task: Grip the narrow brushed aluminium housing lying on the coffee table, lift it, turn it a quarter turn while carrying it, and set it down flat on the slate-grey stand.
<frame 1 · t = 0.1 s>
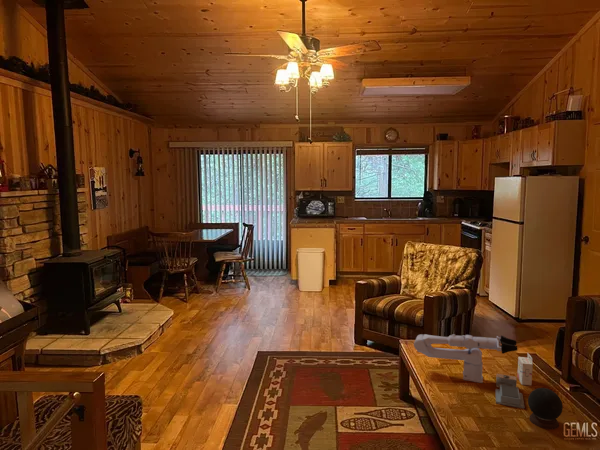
hand: (516, 345, 216), 22 cm above the table, tool horizontal, fingers open, 7 cm apart
stand: (509, 399, 205), on the table
ink cartridge box: (524, 381, 223), on the table
black ball on base: (543, 422, 187), on the table
housing: (505, 387, 218), on the table
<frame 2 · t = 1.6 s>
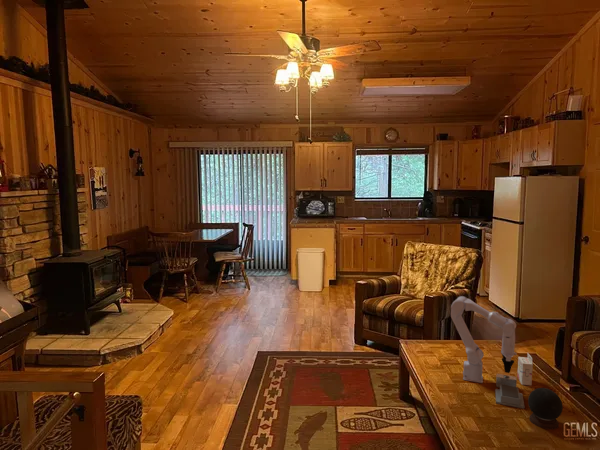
hand: (506, 369, 217), 9 cm above the table, tool pointing down, fingers open, 7 cm apart
nothing on the table moved.
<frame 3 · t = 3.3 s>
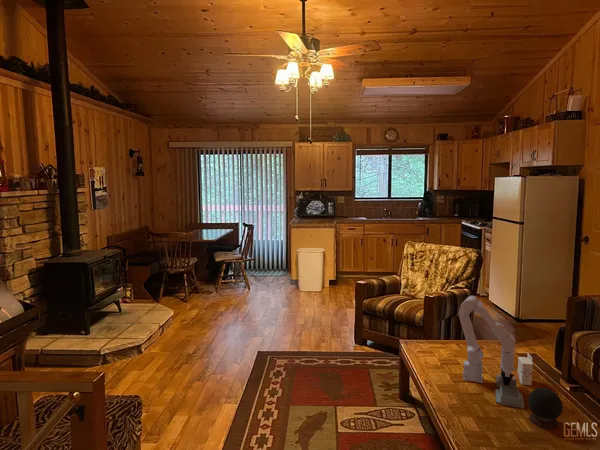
hand: (506, 384, 217), 1 cm above the table, tool pointing down, fingers closed on housing, 4 cm apart
housing: (505, 386, 218), on the table, touching gripper
everything else where it was.
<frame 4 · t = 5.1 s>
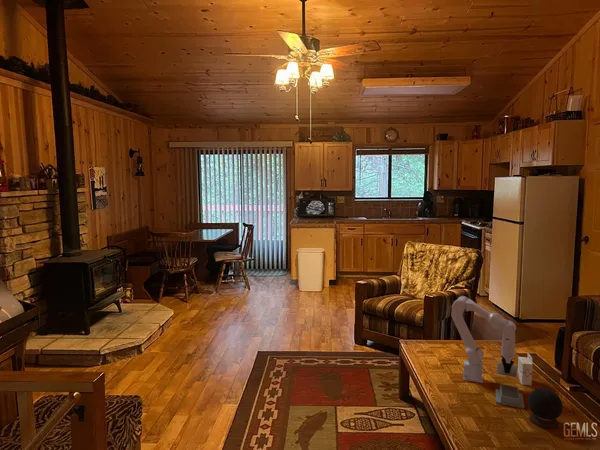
hand: (506, 371, 217), 8 cm above the table, tool pointing down, fingers closed on housing, 4 cm apart
housing: (506, 373, 217), point 7 cm above the table, touching gripper
everything else where it was.
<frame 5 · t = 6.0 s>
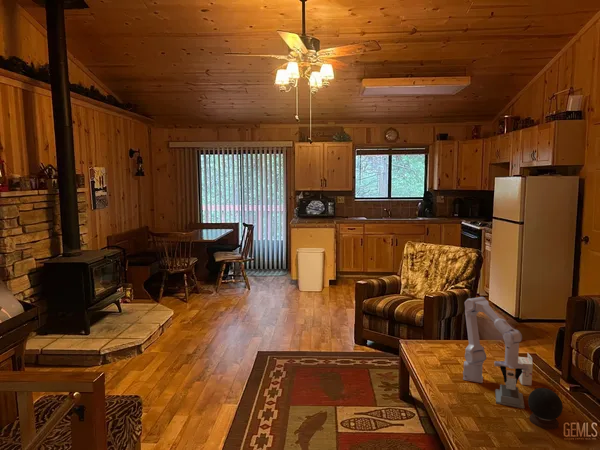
hand: (510, 382, 205), 8 cm above the table, tool pointing down, fingers closed on housing, 4 cm apart
housing: (510, 385, 205), point 7 cm above the table, touching gripper
everything else where it was.
when the fingers open (7 cm above the table, at t = 6.9 s): housing drops 1 cm, resting on stand.
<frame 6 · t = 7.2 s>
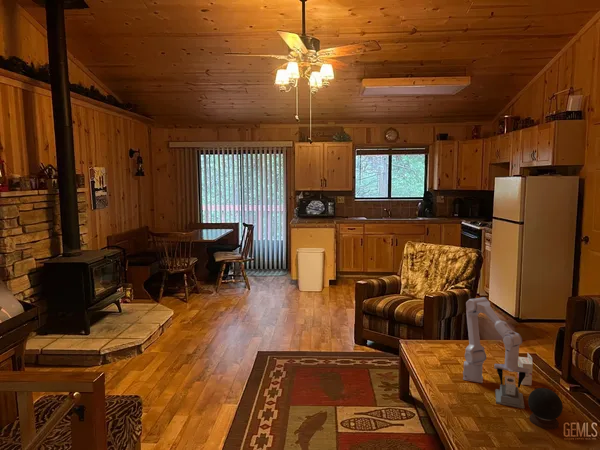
hand: (510, 385, 205), 7 cm above the table, tool pointing down, fingers open, 7 cm apart
housing: (509, 390, 205), point 4 cm above the table, touching stand
everything else where it was.
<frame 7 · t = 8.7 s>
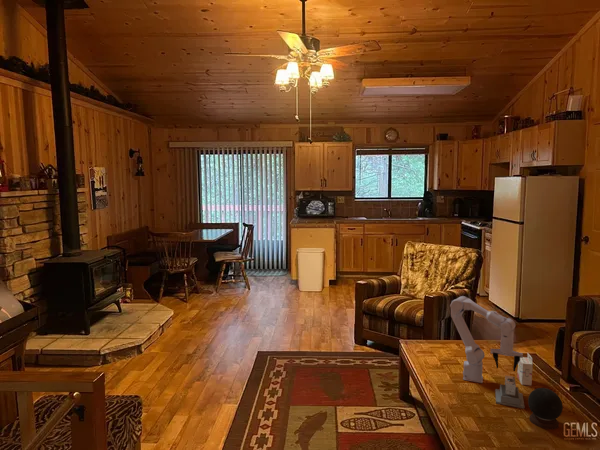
hand: (505, 368, 215), 10 cm above the table, tool pointing down, fingers open, 7 cm apart
nothing on the table moved.
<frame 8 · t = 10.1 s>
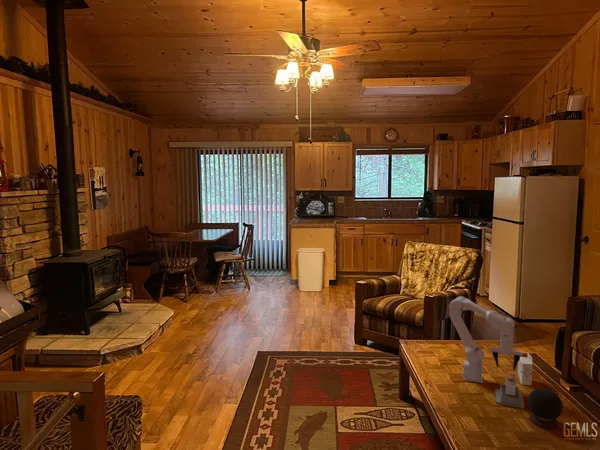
hand: (505, 368, 216), 10 cm above the table, tool pointing down, fingers open, 7 cm apart
nothing on the table moved.
at the end: housing 0.0 cm off-centre on the stand, point 4.3 cm above the stand's base; housing tilted 0°; the gripper is holding nothing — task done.
